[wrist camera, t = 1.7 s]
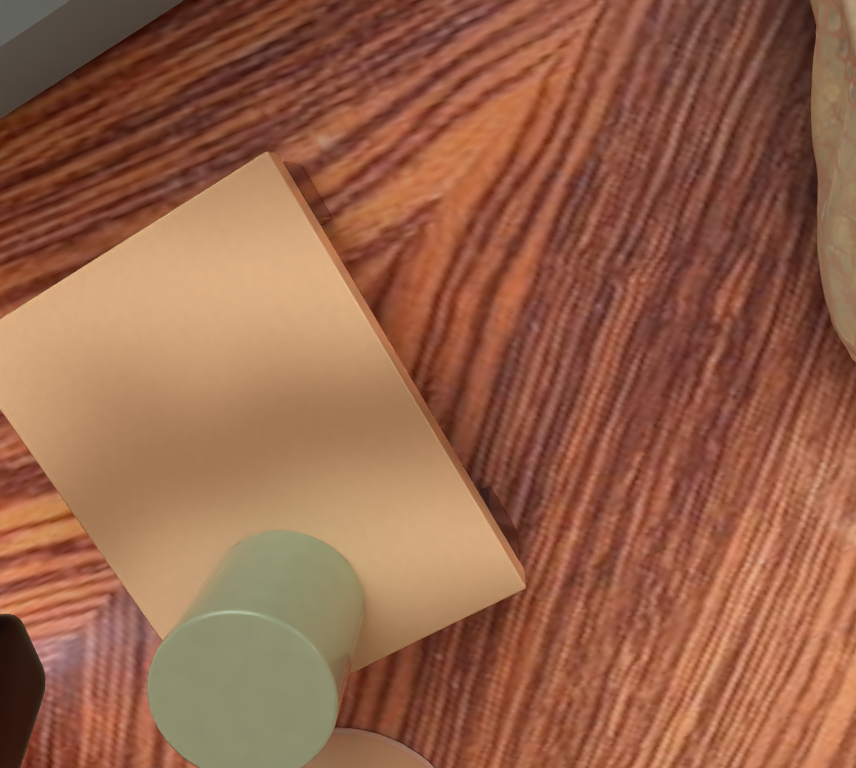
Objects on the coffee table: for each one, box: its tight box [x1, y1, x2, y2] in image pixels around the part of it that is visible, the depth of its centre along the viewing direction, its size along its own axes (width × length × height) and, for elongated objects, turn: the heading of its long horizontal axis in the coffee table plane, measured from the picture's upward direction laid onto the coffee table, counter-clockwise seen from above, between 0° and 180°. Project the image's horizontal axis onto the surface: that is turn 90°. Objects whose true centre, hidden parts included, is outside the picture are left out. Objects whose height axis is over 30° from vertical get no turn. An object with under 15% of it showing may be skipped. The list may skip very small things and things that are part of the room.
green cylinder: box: [147, 531, 365, 768], centre depth 18 cm, size 4×4×4 cm
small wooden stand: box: [0, 152, 526, 674], centre depth 21 cm, size 12×9×3 cm
